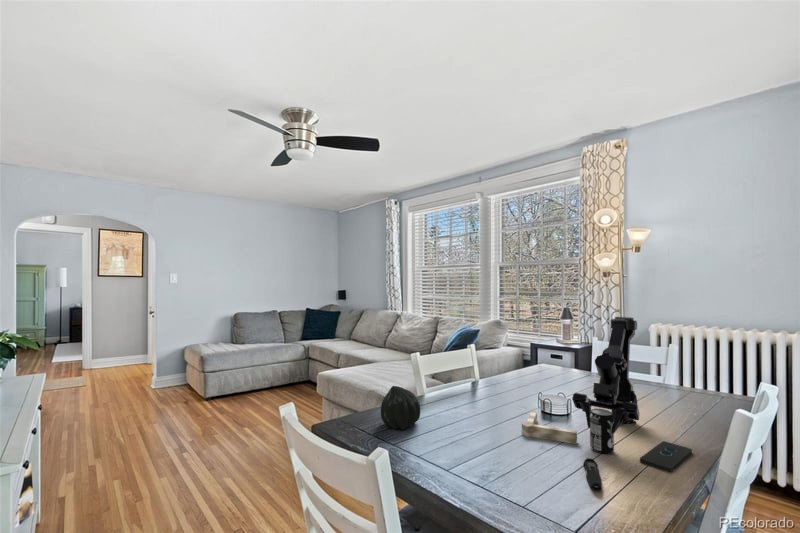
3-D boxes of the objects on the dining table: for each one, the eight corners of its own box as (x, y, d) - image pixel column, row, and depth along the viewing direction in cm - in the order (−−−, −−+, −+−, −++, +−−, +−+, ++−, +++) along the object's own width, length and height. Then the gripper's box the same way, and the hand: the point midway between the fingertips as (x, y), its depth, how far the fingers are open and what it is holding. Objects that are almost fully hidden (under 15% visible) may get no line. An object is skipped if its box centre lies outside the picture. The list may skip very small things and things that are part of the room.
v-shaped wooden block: (534, 419, 149) (534, 410, 149) (580, 443, 128) (580, 432, 128) (505, 423, 145) (505, 414, 145) (547, 449, 124) (547, 437, 124)
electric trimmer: (587, 493, 99) (587, 481, 99) (582, 465, 113) (582, 454, 113) (604, 496, 98) (604, 484, 98) (597, 467, 112) (597, 456, 112)
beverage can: (613, 448, 125) (612, 409, 125) (614, 456, 119) (614, 416, 119) (590, 444, 127) (589, 406, 128) (590, 452, 121) (590, 413, 122)
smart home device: (693, 448, 121) (671, 468, 109) (693, 454, 121) (671, 474, 109) (662, 440, 128) (638, 457, 115) (662, 445, 128) (638, 463, 115)
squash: (434, 411, 142) (413, 376, 149) (407, 424, 131) (385, 385, 138) (413, 430, 149) (393, 395, 156) (385, 443, 138) (365, 405, 145)
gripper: (573, 368, 133) (563, 409, 124) (637, 377, 121) (631, 423, 112) (580, 387, 139) (571, 427, 130) (641, 397, 127) (636, 443, 118)
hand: (600, 430), depth 122 cm, fingers closed on beverage can, 6 cm apart
